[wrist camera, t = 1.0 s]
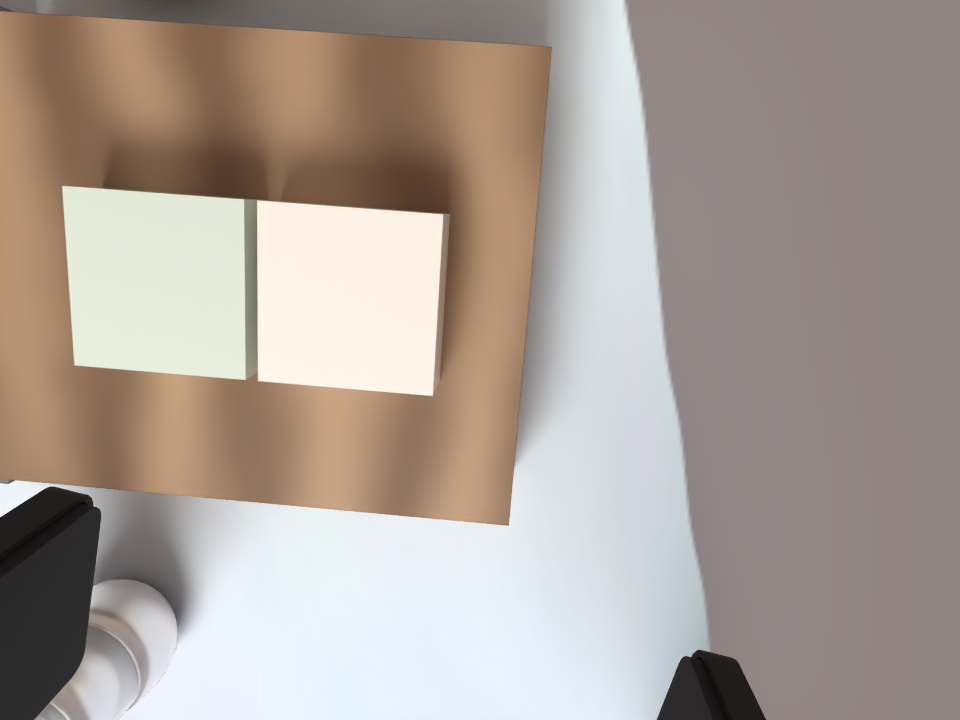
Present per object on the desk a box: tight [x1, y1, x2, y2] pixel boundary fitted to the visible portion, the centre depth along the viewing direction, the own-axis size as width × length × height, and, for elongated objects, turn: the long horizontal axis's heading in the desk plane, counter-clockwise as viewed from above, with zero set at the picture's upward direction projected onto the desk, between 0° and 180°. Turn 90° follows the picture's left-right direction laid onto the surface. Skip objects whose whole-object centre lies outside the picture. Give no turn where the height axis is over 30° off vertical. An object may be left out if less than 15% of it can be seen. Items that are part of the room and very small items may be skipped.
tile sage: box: [62, 186, 269, 380], centre depth 27 cm, size 7×7×2 cm
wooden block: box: [0, 11, 552, 526], centre depth 31 cm, size 24×20×6 cm
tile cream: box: [257, 200, 450, 396], centre depth 27 cm, size 7×7×2 cm
